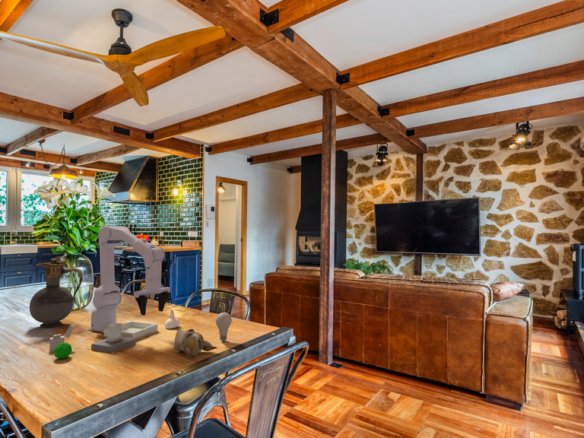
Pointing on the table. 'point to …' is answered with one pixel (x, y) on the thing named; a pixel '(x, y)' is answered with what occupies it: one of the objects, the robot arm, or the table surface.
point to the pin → (114, 333)
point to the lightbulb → (223, 324)
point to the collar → (112, 345)
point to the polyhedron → (62, 350)
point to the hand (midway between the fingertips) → (152, 313)
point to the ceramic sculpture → (191, 343)
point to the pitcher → (53, 296)
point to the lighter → (59, 338)
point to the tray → (136, 329)
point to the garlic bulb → (172, 321)
